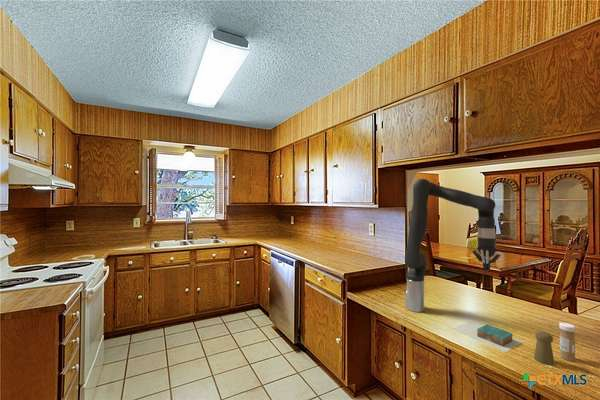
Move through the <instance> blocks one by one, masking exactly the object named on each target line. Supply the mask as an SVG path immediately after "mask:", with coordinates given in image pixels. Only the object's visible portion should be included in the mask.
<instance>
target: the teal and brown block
mask: <svg viewBox="0 0 600 400" xmlns="http://www.w3.org/2000/svg"><path fill="white" fill-rule="evenodd" d="M481 326H482V325H481ZM477 336H478V337H480V338H483V339H485V340H488V341H490V342H492V343H495V344H497V345H500V346H502V347H503V346H504V345H506V344H508V343H510V342H512V338H513V332H511V331H508V330H505V329H501V328H499V327H496V326H494V325H491V324H489V323H486V324H485V325H483V326H482V327H480V328H478V329H477Z"/></svg>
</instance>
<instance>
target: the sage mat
mask: <svg viewBox="0 0 600 400" xmlns="http://www.w3.org/2000/svg"><path fill="white" fill-rule="evenodd" d="M480 327H482V325H480V324H477V323H474V322H471V321H467V322H464V323H462V324H460V325H457V326H455V327H452V328H451V330H452V331H455V332H457V333H459V334H462V335H464V336H467V337H469V338H471V339H473V340H476V341H478V342H481V343H483V344H484V345H485V344H486V345H488V346H490V347H492V348H495V349H498V350H500V351H502V352H504V353H507V352H509V351H510V350H512V349H514V348H516V347H517V346H519V345H520V344H522V343H524V341H523V340H520V339H517V338H514V337H512V342H510V343H508V344H506V345H504V346H503V347H502V346H500V345H497V344H495V343H492V342H490V341H488V340H485V339H483V338H480V337H478V336H477V329H478V328H480Z"/></svg>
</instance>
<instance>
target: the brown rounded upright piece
mask: <svg viewBox="0 0 600 400" xmlns="http://www.w3.org/2000/svg"><path fill="white" fill-rule="evenodd" d="M534 335H535V339H536V344H535V349H534V354H533V355H534V356H533V359H534V361H536V362H538V363H540V364H543V365H545V366H554V365H555V364H556V363H555V358H554V353H553V347H552V343H553V342H554V338H553V336H552V334H551V333H548V332H546V331H544V330H543V331H541V330H537V331H536V332H535V333H534Z"/></svg>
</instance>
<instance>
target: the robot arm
mask: <svg viewBox="0 0 600 400" xmlns="http://www.w3.org/2000/svg"><path fill="white" fill-rule="evenodd" d="M429 196H433V197H436V198H440V199H443V200H446V201H448V202H451V203H454V204H456V205H457V204H458V205H462V206H464V207H470V208H472V209H473V208H474V209H476V210H477V212H478V213H477V214H478V215H477V216H478V220H477V221H478V223H477V225H478V227H477V247H476V249H475V250H472V253H473V255H474V256H475V257H476V259H477V260H478V261H479V262H482V270H484V271H485V272H486V271H487V272H489V271H490V270H491V264H493V263H496V262H497V261H498V260H499V259H500V258H501V257H502V254H501V253H499V252H498V251H497V249H496V245H497V243H496V236H497V235H496V220H495V216H494V214H495V212H494V210H495V208H496V206H497V205H496V202H495V200H494V199H492V198H489V197H487V196H482V195H481V196H480V195H477V194H473V193H471V192H467V191H462V190H459V189H455V188H454V189H453V188H450V187H445V186H442V185H438V184H436V183H434V182H431V181H429V180H428V179H425V178H419V179H417V180H415V182H413V186H412V207H411V212H410V217H409V224H408V227H409V228H408V235H407V237H408V238H407V245H406V249H405V254H404V264H405V265H406V267H408V269H409V270H408V272H407V274H406V291H405V294H404V295H405V304H404V305H405V308H406V309H407V310H409V311H411V312H416V313H422V312H425V277H426V269H427V268H426V266H427V264H426V263H427V260H426V256H425V254H424V253H423V252H422V251H421V245H422V242H423V240H424V237H425V235H426V233H427V229H428V219H429V218H428V200H429ZM493 256H494V257H493Z"/></svg>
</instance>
